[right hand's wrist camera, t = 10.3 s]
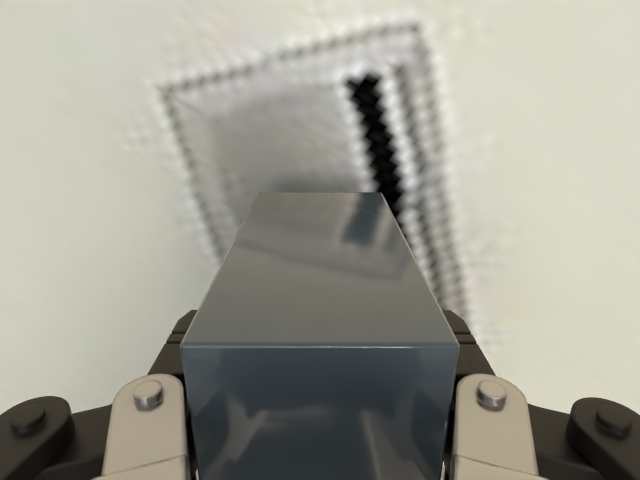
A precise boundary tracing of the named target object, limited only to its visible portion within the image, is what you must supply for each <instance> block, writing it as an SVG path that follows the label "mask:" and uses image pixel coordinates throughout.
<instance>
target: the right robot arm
mask: <svg viewBox="0 0 640 480" xmlns="http://www.w3.org/2000/svg"><path fill="white" fill-rule="evenodd" d="M197 311H198V310H191V311H190V312H189V313H187V314H186V315H185V316H183V317H182V318H181V319H179V320H178V322H177V324H176V325H175V327H174V329H173V331H172V334H170V336H169V338H168V340H167V341H166V344H165V345H164V347H163V348H162V350H161V352H160V354H159V355H158V357H157V359H156V361H155V362H154V364H153V366H152V368H151V369H150V371H149V373H148V375H147V376H143V377H140V378H138V379H136V380H133V381H132V382H130V383H128V384H127V385H125V386H124V387H123V388H122V389H121V390H120V391H119V392H118V393H117V394H116V396H115V398H114V400H113V404H111V405H108V406H104V407H100V408H96V409H91V410H87V411H83V412H78V413H74V414H72V413H71V409H70V406H69V403H68V402H67V401H66V400H64V399H63V398H60V397H55V396H45V397H39V398H34V399H31V400H27V401H25V402H22V403H20V404H18V405H16V406H14V407H12V408H10V409H9V410H7V411H6V412H4V413H3V414H1V415H0V480H197V479H196V470H197V461H196V454H195V447H194V440H193V433H192V426H191V419H190V412H189V405H188V398H187V391H186V384H185V377H184V370H183V363H182V357H181V350H180V344H181V342H182V340H183V338H184V336H185V334H186V332H187V330H188V328H189V326H190V324H191V322H192V321H193V319H194V317H195V315H196V313H197ZM442 312H443V314H444V316H445V318H446V320H447V322H448V323H449V325H450V327H451V329H452V331H453V333H454V335H455V337H456V339H457V341H458V343H459V353H458V359H457V366H456V373H455V380H454V387H453V394H452V401H451V408H450V415H449V422H448V429H447V436H446V443H445V450H444V457H443V461H444V464H445V472H444V479H443V480H640V415H639V414H637V413H636V412H634V411H633V410H631V409H629V408H627V407H625V406H623V405H621V404H619V403H616V402H613V401H610V400H606V399H602V398H582V399H579V400H578V401H576V402H575V403H574V404H573V406H572V409H571V412H570V414H567V413H562V412H558V411H553V410H549V409H545V408H540V407H537V406H534V405H531V404H528V403H527V400H526V398H525V396H524V394H523V393H522V392H521V391H520V390H519V389H518V388H517V387H516V386H515V385H513V384H512V383H510V382H508V381H507V380H504V379H502V378H500V377H497V376H496V375H495V373H494V372H493V370H492V368H491V367H490V365H489V363H488V361H487V360H486V358H485V356H484V354H483V353H482V351H481V349H480V348H479V346H478V345H477V344H476V341H475V339H474V337H473V335H471V332H470V330H469V328H468V327H467V325H466V323H465V322H464V320H463V319H461V318H460V317H459V316H457V315H456V314H455V313H453V312H452V311H451V310H442Z"/></svg>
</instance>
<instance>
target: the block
mask: <svg viewBox="0 0 640 480" xmlns="http://www.w3.org/2000/svg"><path fill="white" fill-rule="evenodd" d="M180 350H181V357H182V363H183V370H184V377H185V384H186V391H187V398H188V405H189V412H190V419H191V426H192V433H193V440H194V447H195V454H196V461H197V468H198V475H199V480H440V478H441V471H442V464H443V457H444V450H445V443H446V436H447V429H448V422H449V415H450V408H451V401H452V394H453V387H454V380H455V373H456V366H457V359H458V353H459V343H458V341H457V339H456V337H455V335H454V333H453V331H452V329H451V327H450V325H449V323H448V322H447V320H446V318H445V316H444V314H443V312H442V310H441V308H440V306H439V304H438V302H437V300H436V298H435V296H434V294H433V292H432V290H431V288H430V286H429V284H428V282H427V280H426V279H425V277H424V275H423V273H422V271H421V269H420V267H419V265H418V263H417V261H416V259H415V257H414V255H413V253H412V251H411V249H410V247H409V245H408V243H407V241H406V239H405V237H404V236H403V234H402V232H401V230H400V228H399V226H398V224H397V222H396V220H395V218H394V216H393V214H392V212H391V210H390V208H389V206H388V204H387V202H386V200H385V198H384V196H383V194H382V193H258V194H257V196H256V198H255V200H254V202H253V204H252V206H251V208H250V210H249V212H248V214H247V216H246V218H245V220H244V221H243V223H242V225H241V227H240V229H239V231H238V233H237V235H236V237H235V239H234V241H233V243H232V245H231V247H230V249H229V251H228V253H227V254H226V256H225V258H224V260H223V262H222V264H221V266H220V268H219V270H218V272H217V274H216V276H215V278H214V280H213V282H212V284H211V286H210V287H209V289H208V291H207V293H206V295H205V297H204V299H203V301H202V303H201V305H200V307H199V309H198V311H197V313H196V315H195V317H194V319H193V321H192V322H191V324H190V326H189V328H188V330H187V332H186V334H185V336H184V338H183V340H182V342H181V344H180Z"/></svg>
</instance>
